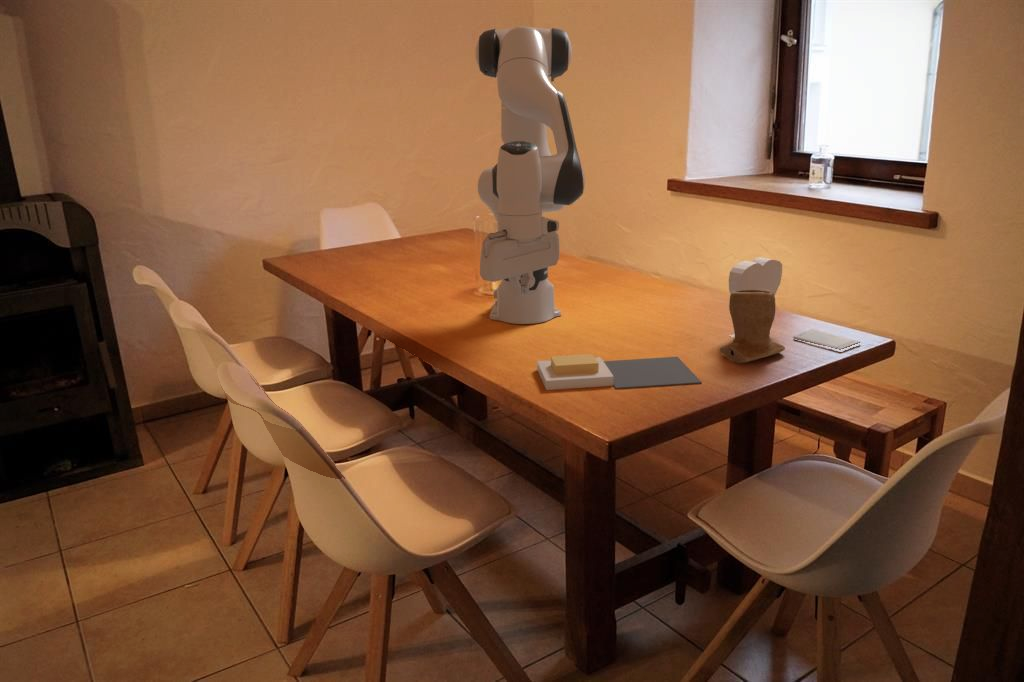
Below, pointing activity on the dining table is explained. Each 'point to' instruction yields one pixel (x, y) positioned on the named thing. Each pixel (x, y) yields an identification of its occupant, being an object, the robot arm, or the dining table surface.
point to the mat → (650, 372)
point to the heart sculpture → (756, 275)
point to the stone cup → (751, 326)
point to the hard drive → (825, 339)
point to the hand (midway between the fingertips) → (521, 294)
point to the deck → (574, 377)
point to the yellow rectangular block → (574, 364)
